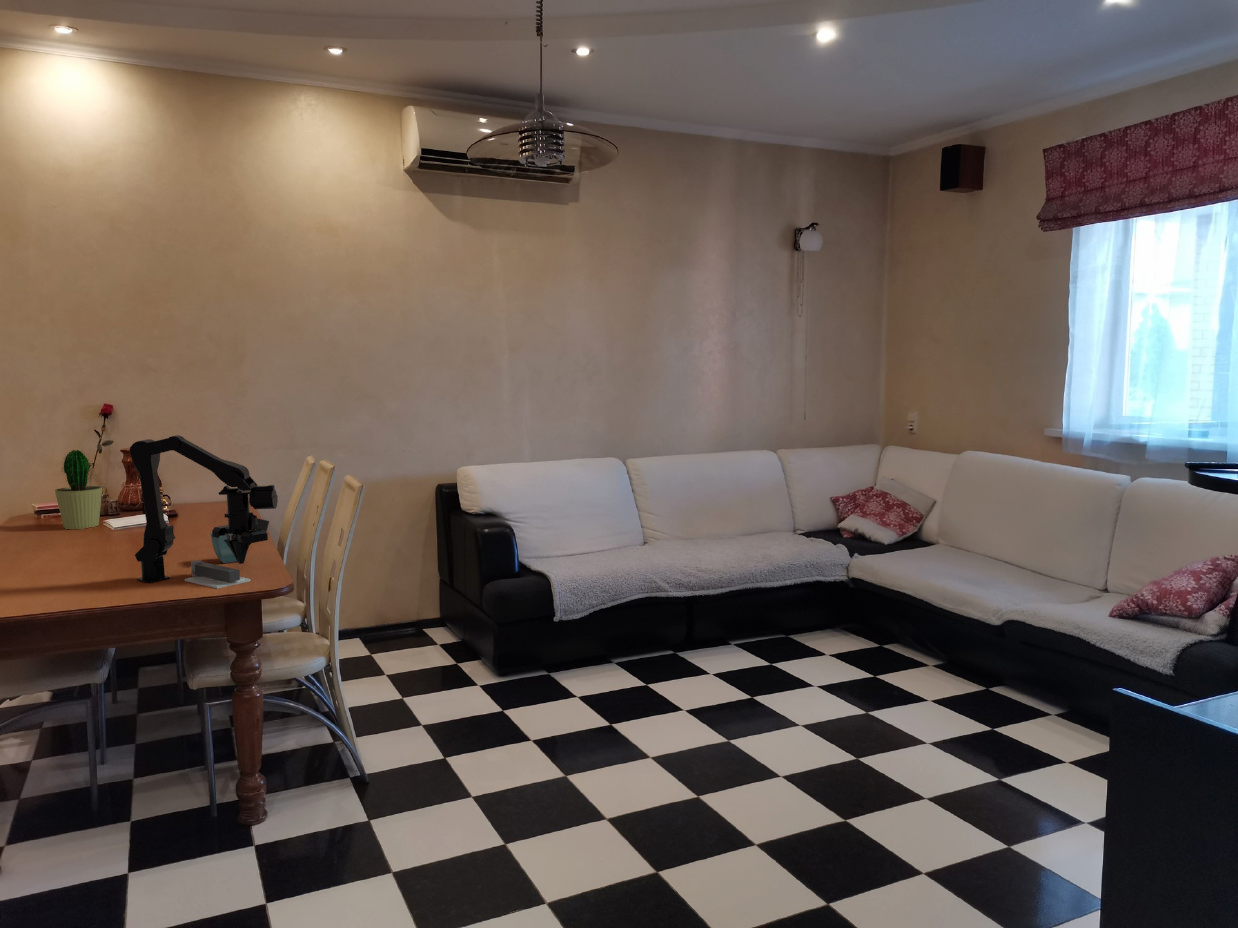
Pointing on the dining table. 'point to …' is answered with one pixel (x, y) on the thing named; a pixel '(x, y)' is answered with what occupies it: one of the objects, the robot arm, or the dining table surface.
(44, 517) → the dining table surface
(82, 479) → the potted cactus
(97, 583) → the dining table surface
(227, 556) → the flower pot
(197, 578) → the label board
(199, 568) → the bar
